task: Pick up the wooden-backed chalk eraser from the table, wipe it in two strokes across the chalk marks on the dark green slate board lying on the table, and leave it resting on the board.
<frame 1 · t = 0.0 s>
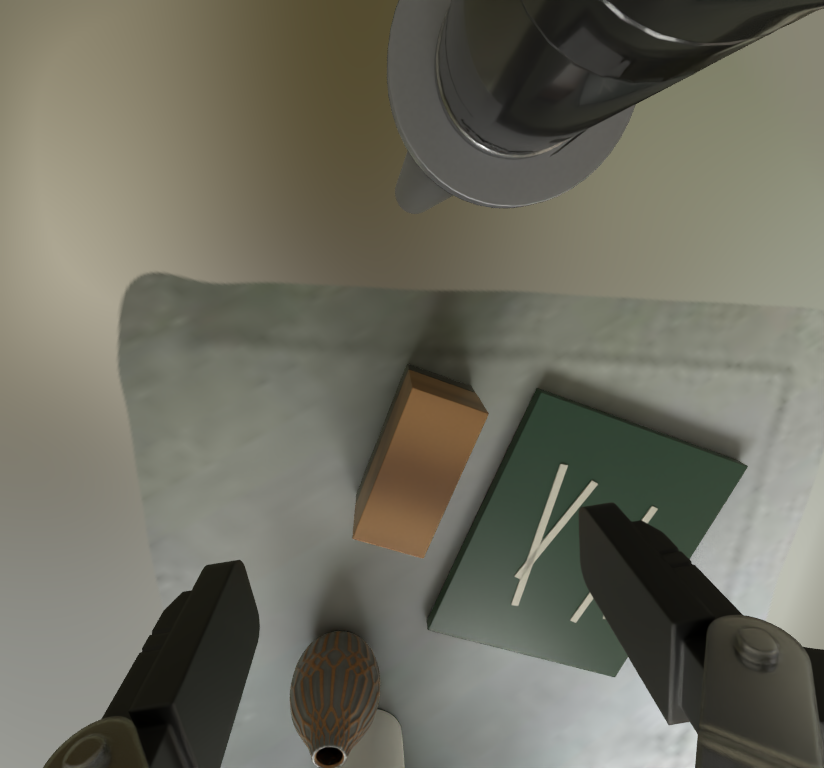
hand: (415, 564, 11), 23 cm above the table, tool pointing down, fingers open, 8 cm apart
mug: (367, 743, 44), on the table
slate board: (577, 543, 38), on the table
eraser: (412, 442, 35), on the table
vase: (339, 647, 40), on the table
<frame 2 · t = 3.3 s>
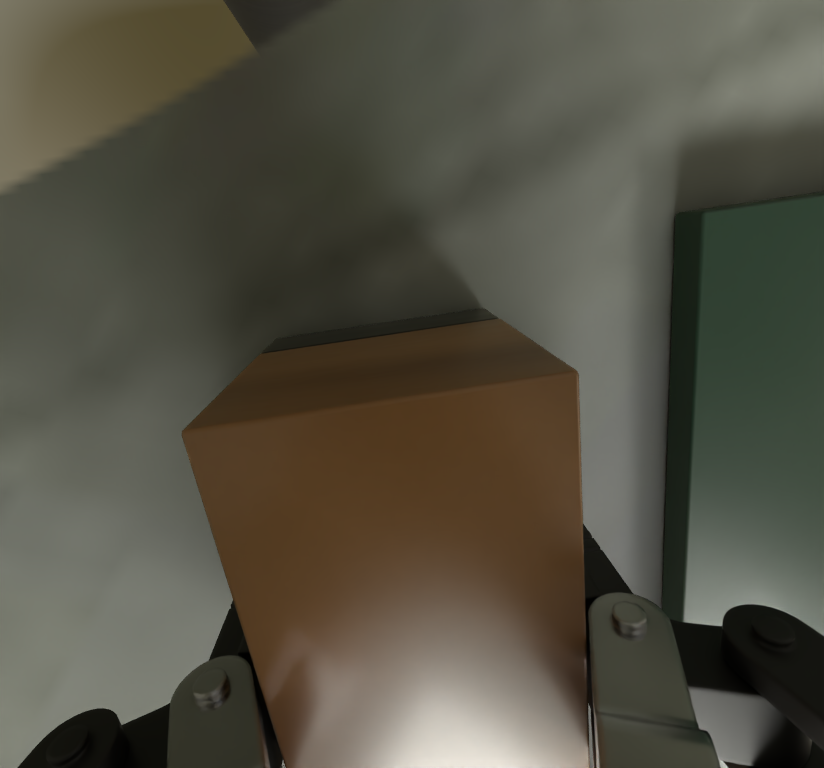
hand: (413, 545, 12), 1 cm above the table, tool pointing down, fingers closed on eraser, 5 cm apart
eraser: (411, 522, 13), on the table, touching gripper
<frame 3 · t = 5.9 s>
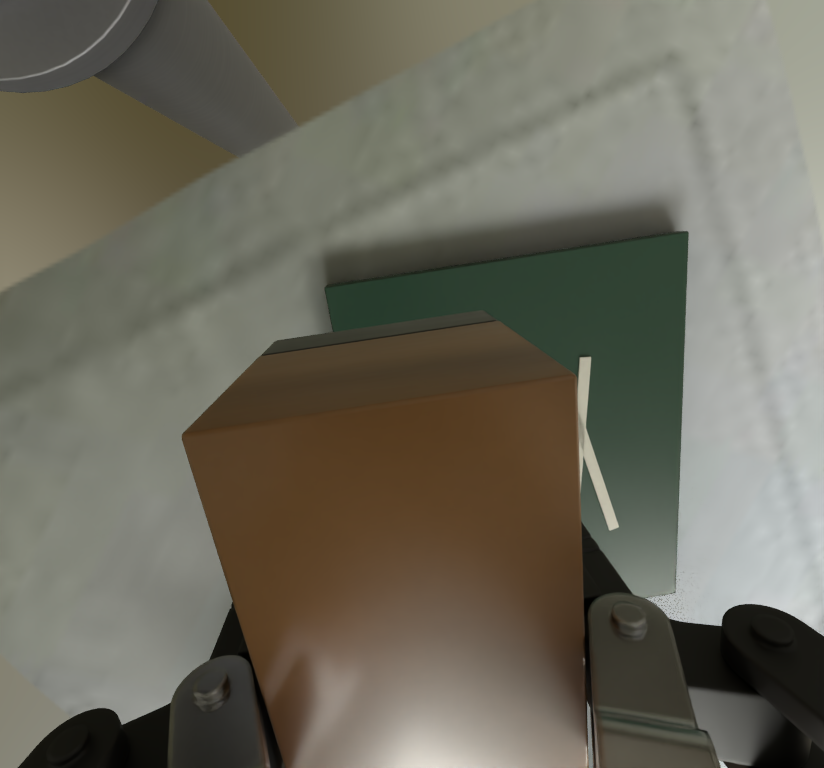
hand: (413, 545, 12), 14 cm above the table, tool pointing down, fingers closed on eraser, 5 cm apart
slate board: (518, 453, 27), on the table
eraser: (411, 524, 13), point 13 cm above the table, touching gripper
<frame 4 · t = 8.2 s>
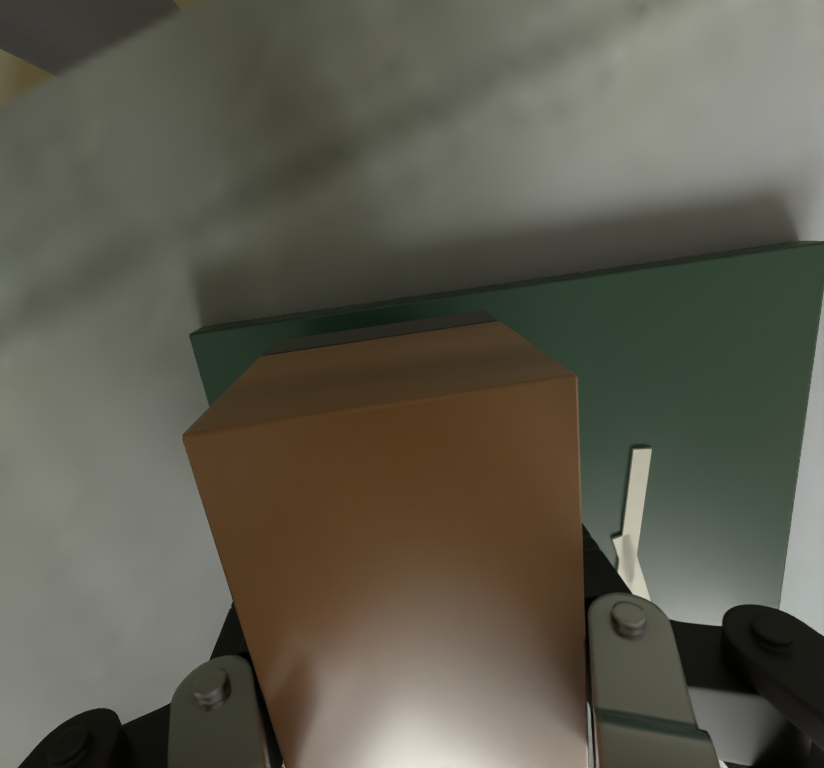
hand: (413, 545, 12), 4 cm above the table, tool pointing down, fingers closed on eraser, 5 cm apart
slate board: (527, 584, 17), on the table
eraser: (411, 524, 13), point 3 cm above the table, touching gripper
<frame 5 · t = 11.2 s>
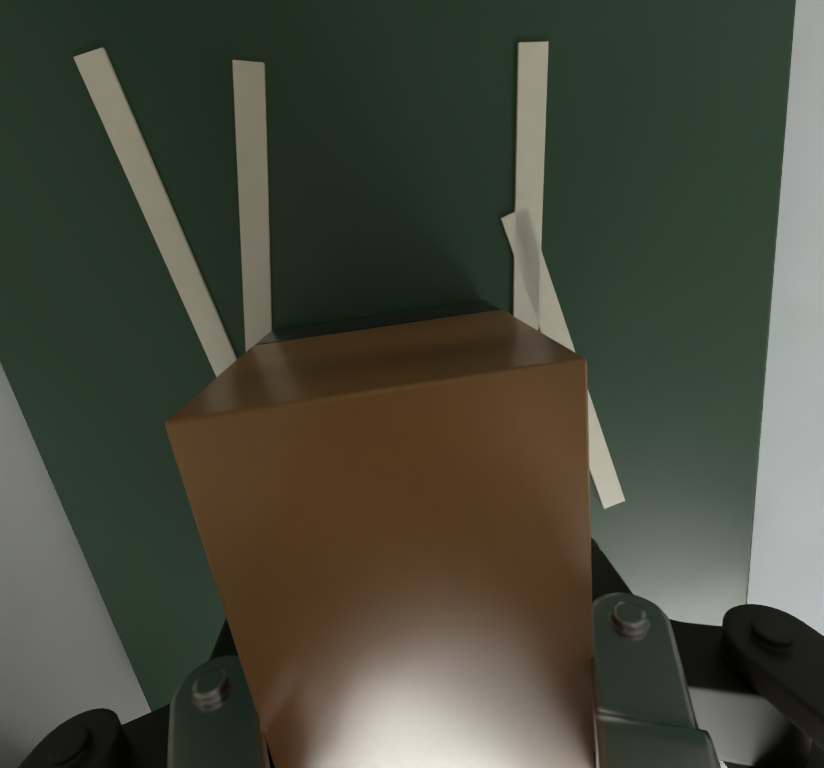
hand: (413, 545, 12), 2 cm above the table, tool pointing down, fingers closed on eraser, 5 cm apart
slate board: (395, 330, 12), on the table
eraser: (410, 521, 12), point 1 cm above the table, touching gripper, slate board
when the fingers open (2 cm above the table, at t = 13.4 s): eraser moves 3 cm, resting on slate board.
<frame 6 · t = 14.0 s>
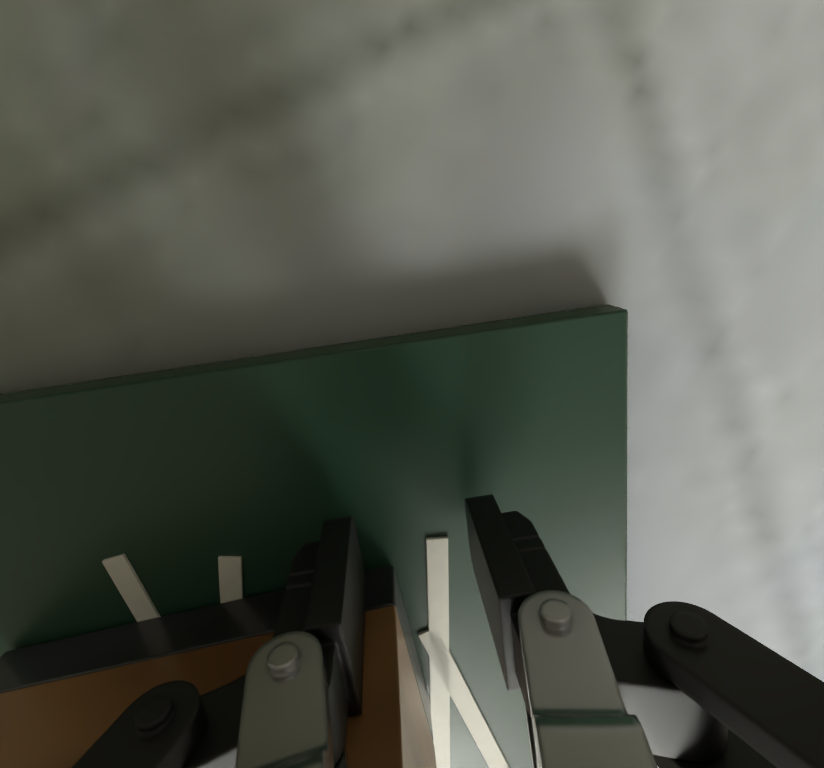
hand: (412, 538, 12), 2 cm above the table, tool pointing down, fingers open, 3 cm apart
slate board: (344, 676, 15), on the table
eraser: (228, 673, 14), point 1 cm above the table, touching slate board
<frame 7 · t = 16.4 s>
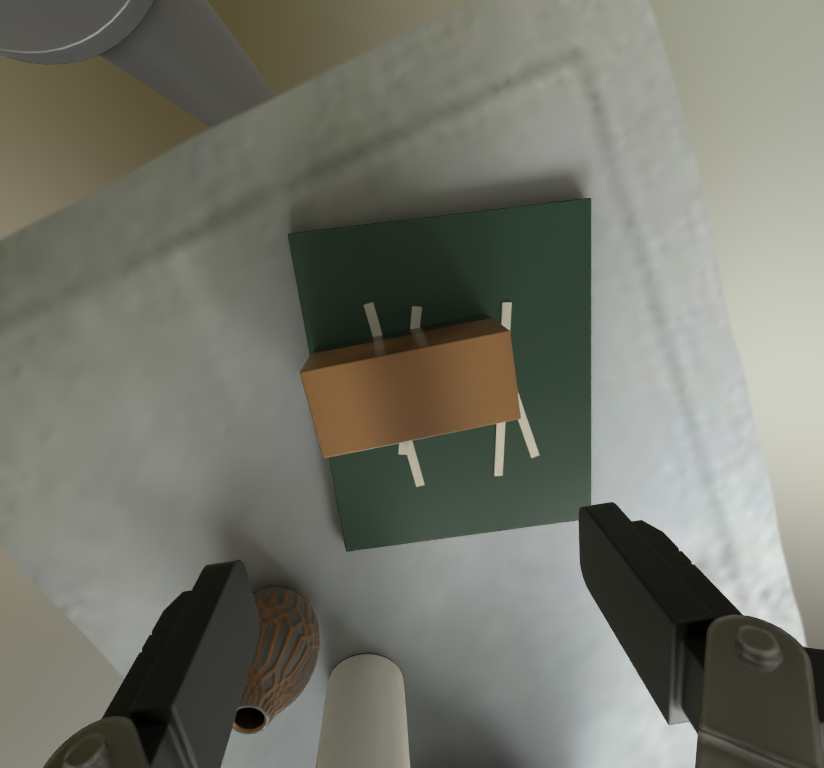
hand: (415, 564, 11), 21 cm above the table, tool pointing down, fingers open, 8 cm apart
mug: (374, 693, 40), on the table
slate board: (454, 387, 32), on the table
eraser: (408, 369, 30), point 1 cm above the table, touching slate board
vase: (280, 607, 36), on the table
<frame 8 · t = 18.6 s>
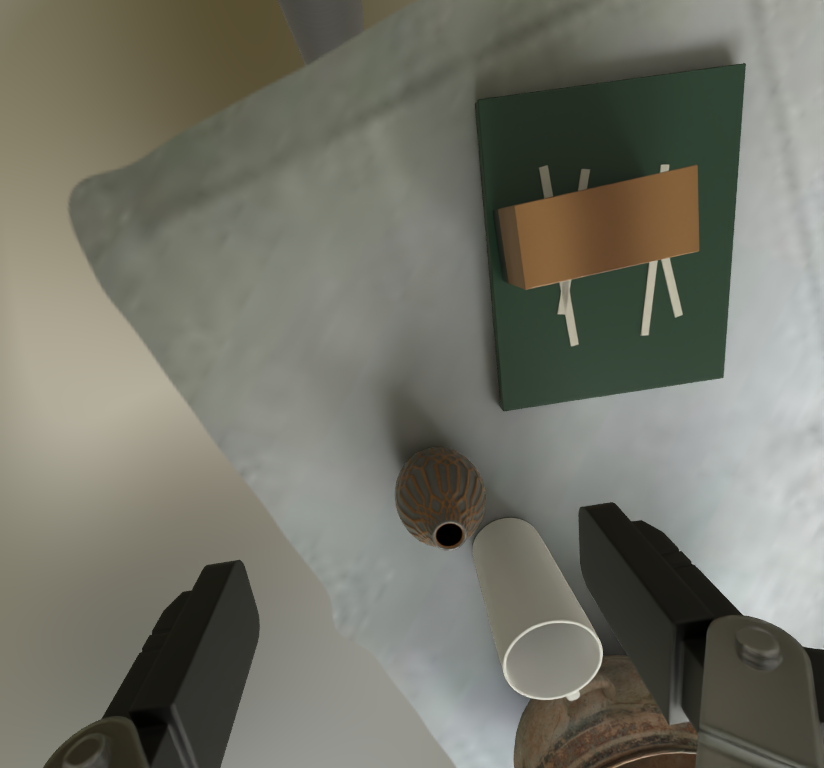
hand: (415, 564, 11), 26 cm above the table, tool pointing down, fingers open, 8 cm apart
mug: (512, 558, 43), on the table
cooking pot: (587, 686, 48), on the table
slate board: (607, 252, 35), on the table
eraser: (573, 230, 33), point 1 cm above the table, touching slate board
vase: (434, 471, 40), on the table
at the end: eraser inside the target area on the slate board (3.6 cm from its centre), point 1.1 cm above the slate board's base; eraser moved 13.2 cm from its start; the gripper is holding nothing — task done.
